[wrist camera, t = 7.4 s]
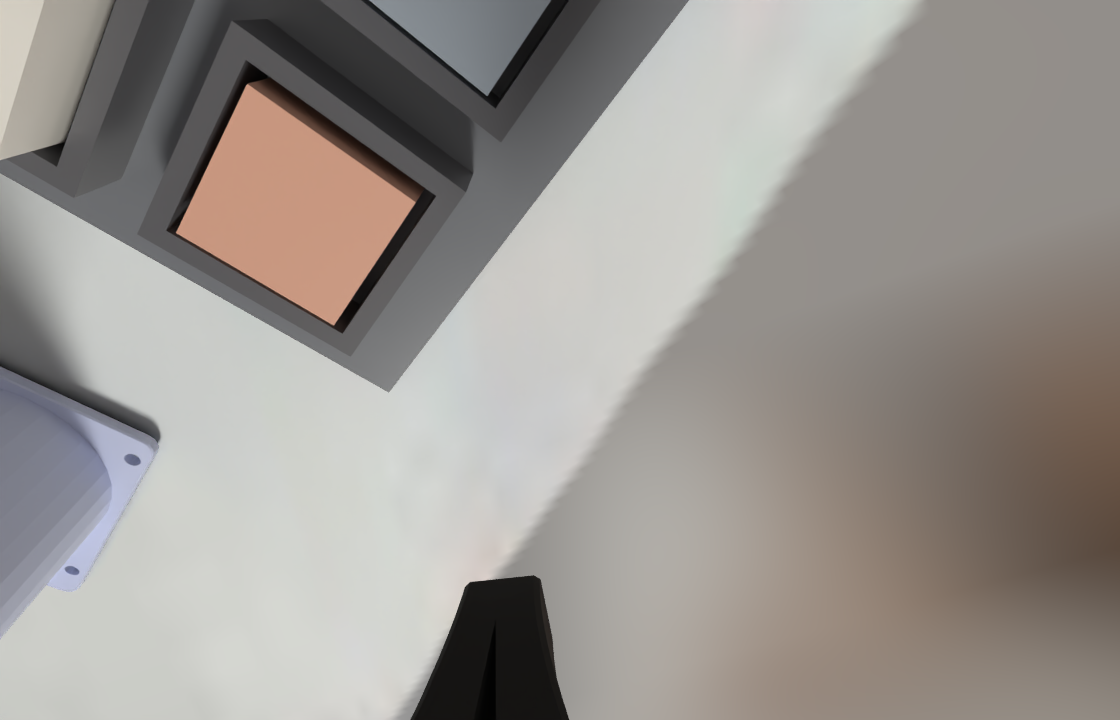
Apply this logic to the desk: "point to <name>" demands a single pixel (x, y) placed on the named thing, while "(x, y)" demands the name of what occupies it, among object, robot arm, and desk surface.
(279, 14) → the keypad
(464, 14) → the slate key
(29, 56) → the cream key
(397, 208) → the terracotta key
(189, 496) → the desk surface
